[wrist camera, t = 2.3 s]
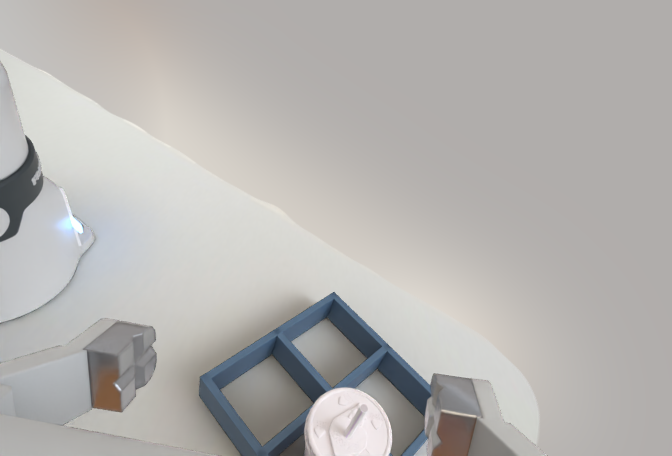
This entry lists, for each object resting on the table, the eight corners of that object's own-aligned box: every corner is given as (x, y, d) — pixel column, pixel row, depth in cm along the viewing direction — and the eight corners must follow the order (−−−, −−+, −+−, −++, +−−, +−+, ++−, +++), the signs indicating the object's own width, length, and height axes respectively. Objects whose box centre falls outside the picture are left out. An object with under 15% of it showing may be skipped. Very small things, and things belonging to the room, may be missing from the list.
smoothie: (270, 487, 35) (299, 413, 26) (310, 422, 40) (347, 340, 31) (336, 536, 34) (392, 477, 24) (369, 463, 38) (427, 390, 29)
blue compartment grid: (198, 395, 39) (199, 376, 37) (327, 310, 50) (333, 291, 47) (319, 564, 32) (329, 554, 30) (439, 423, 43) (453, 407, 40)
